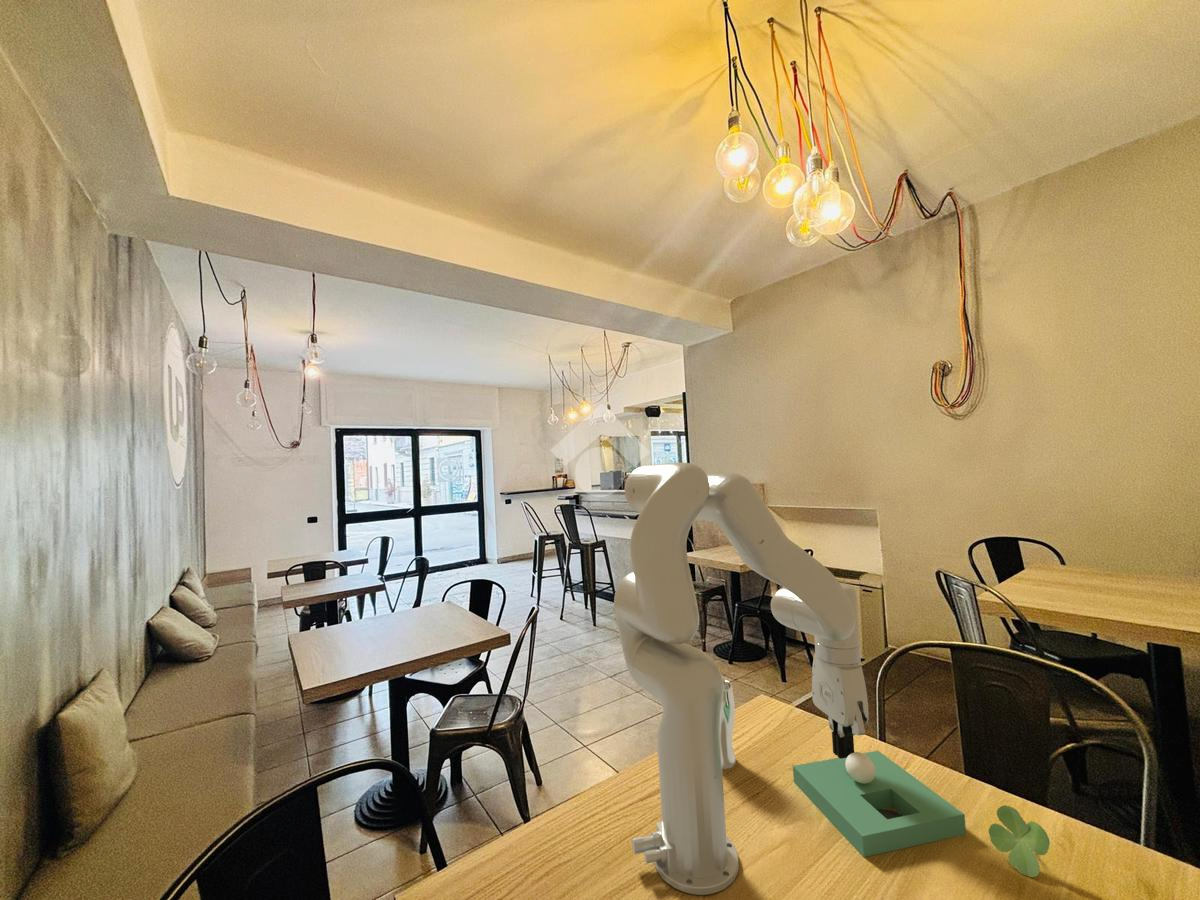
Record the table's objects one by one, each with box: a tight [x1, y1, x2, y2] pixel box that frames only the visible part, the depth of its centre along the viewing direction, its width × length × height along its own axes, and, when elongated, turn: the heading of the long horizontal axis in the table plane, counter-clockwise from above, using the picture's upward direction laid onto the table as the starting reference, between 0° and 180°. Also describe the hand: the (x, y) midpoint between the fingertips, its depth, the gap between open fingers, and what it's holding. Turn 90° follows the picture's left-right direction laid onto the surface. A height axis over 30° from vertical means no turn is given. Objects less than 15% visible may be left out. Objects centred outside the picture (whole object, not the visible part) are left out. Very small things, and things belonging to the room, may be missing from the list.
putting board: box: [792, 750, 967, 858], centre depth 83 cm, size 18×18×3 cm
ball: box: [845, 751, 875, 784], centre depth 85 cm, size 5×5×5 cm
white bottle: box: [720, 678, 736, 770], centre depth 98 cm, size 7×7×15 cm
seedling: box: [988, 804, 1051, 878], centre depth 71 cm, size 7×8×6 cm
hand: (843, 755), depth 89 cm, fingers closed
